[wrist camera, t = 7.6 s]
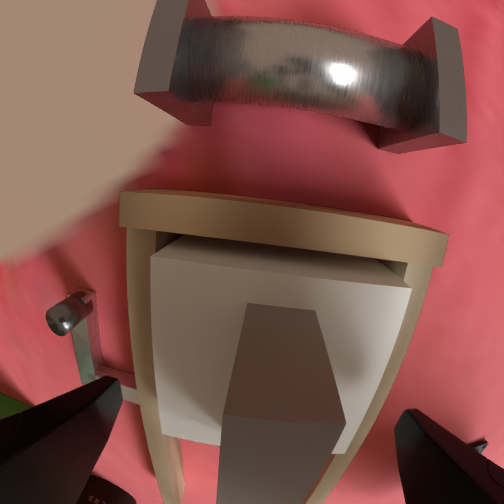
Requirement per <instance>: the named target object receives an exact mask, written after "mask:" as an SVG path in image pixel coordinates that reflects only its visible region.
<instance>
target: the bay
mask: <svg viewBox="0 0 504 504" xmlns="http://www.w3.org/2000/svg"><path fill="white" fill-rule="evenodd" d="M119 227H127V233H126V268H127V297H128V314H129V327H130V338H131V348H132V357H133V365H134V372H135V379H136V386H137V393H138V399H139V404H140V410H141V415H142V420H143V425H144V430H145V435H146V439H147V444H148V448H149V452H150V456H151V460H152V464H153V468H154V472H155V475H156V479H157V482H158V486H159V489H160V492H161V496H162V499H163V502H164V504H181V502H182V498H183V495H184V491H185V482H184V475H183V466H182V457H181V448H180V438H177V437H173V436H169V435H165V434H162V431H161V424H160V417H159V409H158V401H157V392H156V382H155V371H154V359H153V345H152V326H151V292H150V259H151V256H152V255H153V254H155V253H156V252H158V251H159V250H161V249H163V248H164V247H166V246H167V245H169V244H171V243H172V242H174V241H175V240H177V233H180V234H188V235H197V236H205V237H213V238H221V239H230V240H238V241H246V242H254V243H262V244H270V245H278V246H286V247H294V248H301V249H309V250H317V251H325V252H332V253H340V254H347V255H355V256H362V257H370V258H377V259H383V260H382V264H383V265H385V266H386V267H387V268H388V269H390V270H391V271H392V272H393V273H394V274H396V275H397V276H398V277H399V278H400V279H402V280H403V281H404V282H405V283H406V284H408V285H409V286H410V287H411V288H412V291H411V295H410V298H409V302H408V305H407V309H406V312H405V315H404V318H403V321H402V324H401V328H400V331H399V333H398V336H397V339H396V342H395V345H394V348H393V350H392V353H391V356H390V358H389V361H388V364H387V366H386V369H385V371H384V373H383V376H382V378H381V381H380V383H379V385H378V388H377V390H376V392H375V394H374V397H373V399H372V401H371V403H370V405H369V408H368V410H367V412H366V414H365V416H364V418H363V420H362V422H361V424H360V426H359V428H358V430H357V432H356V434H355V435H354V437H353V439H352V441H351V443H350V445H349V446H348V448H347V450H346V452H345V453H344V454H331V455H330V457H329V459H328V461H327V463H326V464H325V466H324V468H323V470H322V471H321V473H320V475H319V477H318V478H317V480H316V482H315V483H314V485H313V487H312V488H311V490H310V492H309V493H308V495H307V496H306V498H305V499H304V501H303V503H302V504H322V503H323V502H324V500H325V499H326V498H327V496H328V495H329V494H330V492H331V491H332V490H333V488H334V487H335V485H336V484H337V483H338V481H339V480H340V478H341V477H342V475H343V474H344V472H345V471H346V469H347V468H348V466H349V465H350V463H351V461H352V460H353V458H354V457H355V455H356V453H357V452H358V450H359V448H360V447H361V445H362V443H363V442H364V440H365V438H366V436H367V435H368V433H369V431H370V429H371V427H372V426H373V424H374V422H375V420H376V418H377V416H378V414H379V412H380V410H381V408H382V406H383V404H384V402H385V400H386V398H387V396H388V394H389V392H390V390H391V387H392V385H393V383H394V381H395V379H396V376H397V374H398V372H399V369H400V367H401V364H402V362H403V359H404V357H405V354H406V352H407V349H408V347H409V344H410V341H411V339H412V336H413V333H414V330H415V327H416V324H417V321H418V318H419V315H420V312H421V309H422V306H423V303H424V299H425V296H426V292H427V289H428V285H429V281H430V278H431V274H432V270H433V266H435V267H442V265H443V261H444V256H445V252H446V247H447V242H448V237H449V234H446V233H443V232H440V231H438V230H435V229H432V228H429V227H426V226H423V225H420V224H417V223H414V222H410V221H405V220H400V219H395V218H389V217H384V216H378V215H373V214H367V213H361V212H355V211H349V210H343V209H336V208H330V207H323V206H317V205H310V204H303V203H295V202H288V201H280V200H272V199H264V198H255V197H247V196H238V195H228V194H218V193H208V192H196V191H184V190H172V189H157V188H151V189H140V190H130V191H120V203H119Z"/></svg>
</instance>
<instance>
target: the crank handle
mask: <svg viewBox="0 0 504 504" xmlns="http://www.w3.org/2000/svg"><path fill="white" fill-rule="evenodd" d="M46 320H47V323H48V326H49V327H50V329H51V330H52V331H53V332H54V333H55V334H56V335H58V336H65V335H66V334H67V333H68V332H69V331H72V337H73V343H74V349H75V354H76V359H77V364H78V369H79V373H80V378H81V382H82V384H84V385H85V384H88V383H90V382H92V381H94V380H96V379H99V378H101V377H103V376H105V375H109V376H112V377H116V378H118V379H119V381H120V386H121V391H122V396H123V400H126V401H129V402H132V403H135V404H138V405H140V404H139V399H138V393H137V386H136V379H135V375H132V374H129V373H126V372H123V371H120V370H117V369H114V368H111V367H108V366H105V365H104V364H103V357H102V349H101V342H100V333H99V323H98V312H97V298H96V292H95V291H91V290H88V289H84V288H81V287H78V288H76V289H75V290H73V291H72V292H70V293H68V294H67V298H66V299H64V300H62V301H61V302H59V303H58V304H56V305H55V306H53V307H52V308H50V309H49V310H47V312H46Z"/></svg>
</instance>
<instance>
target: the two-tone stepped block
mask: <svg viewBox="0 0 504 504" xmlns="http://www.w3.org/2000/svg"><path fill="white" fill-rule="evenodd" d="M411 291H412V288H411V287H410V286H409V285H408V284H406V283H405V282H404V281H403V280H402V279H400V278H399V277H398V276H397V275H396V274H394V273H393V272H392V271H391V270H390V269H388V268H387V267H386V266H385V265H383V264H382V263H381V262H380V261H378V260H377V259H376V258H370V257H362V256H355V255H347V254H340V253H332V252H325V251H317V250H309V249H301V248H294V247H286V246H278V245H270V244H262V243H254V242H246V241H238V240H230V239H221V238H213V237H205V236H197V235H188V234H185V235H183V236H182V237H180V238H179V239H177V240H175V241H174V242H172V243H171V244H169V245H167V246H166V247H164V248H163V249H161V250H159V251H158V252H156V253H155V254H153V255H152V256H151V259H150V292H151V326H152V345H153V359H154V371H155V382H156V392H157V401H158V409H159V417H160V424H161V431H162V434H165V435H169V436H173V437H177V438H181V439H186V440H190V441H195V442H200V443H205V444H211V445H216V446H220V456H219V470H218V485H217V500H216V504H302V503H303V501H304V499H305V498H306V496H307V495H308V493H309V492H310V490H311V488H312V487H313V485H314V483H315V482H316V480H317V478H318V477H319V475H320V473H321V471H322V470H323V468H324V466H325V464H326V463H327V461H328V459H329V457H330V455H331V454H344V453H345V452H346V450H347V448H348V446H349V445H350V443H351V441H352V439H353V437H354V435H355V434H356V432H357V430H358V428H359V426H360V424H361V422H362V420H363V418H364V416H365V414H366V412H367V410H368V408H369V405H370V403H371V401H372V399H373V397H374V394H375V392H376V390H377V388H378V385H379V383H380V381H381V378H382V376H383V373H384V371H385V369H386V366H387V364H388V361H389V358H390V356H391V353H392V350H393V348H394V345H395V342H396V339H397V336H398V333H399V331H400V328H401V324H402V321H403V318H404V315H405V312H406V309H407V305H408V302H409V298H410V295H411Z"/></svg>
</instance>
